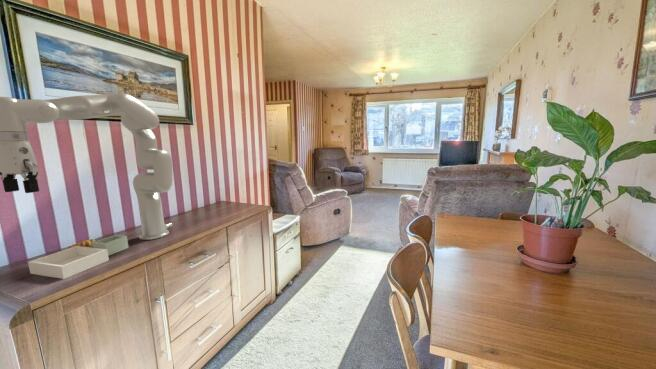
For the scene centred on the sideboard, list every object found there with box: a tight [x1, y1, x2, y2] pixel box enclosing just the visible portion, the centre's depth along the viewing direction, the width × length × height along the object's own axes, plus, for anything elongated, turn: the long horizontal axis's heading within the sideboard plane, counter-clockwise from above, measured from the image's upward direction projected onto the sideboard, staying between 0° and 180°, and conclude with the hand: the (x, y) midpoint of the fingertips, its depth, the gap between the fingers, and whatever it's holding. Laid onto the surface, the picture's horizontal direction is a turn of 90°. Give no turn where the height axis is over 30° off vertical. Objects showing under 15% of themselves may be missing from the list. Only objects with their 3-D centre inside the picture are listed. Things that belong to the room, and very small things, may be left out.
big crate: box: [27, 246, 110, 280], centre depth 102 cm, size 15×17×4 cm
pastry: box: [67, 238, 96, 249], centre depth 119 cm, size 9×7×4 cm
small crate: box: [93, 234, 130, 257], centre depth 116 cm, size 9×7×6 cm
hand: (22, 191), depth 87 cm, fingers open, 9 cm apart
